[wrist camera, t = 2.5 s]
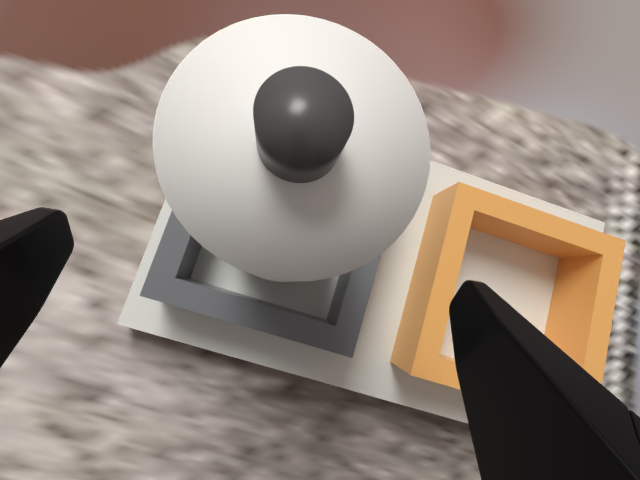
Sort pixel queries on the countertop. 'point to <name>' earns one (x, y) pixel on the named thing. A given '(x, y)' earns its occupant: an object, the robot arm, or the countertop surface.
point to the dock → (393, 294)
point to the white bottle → (291, 148)
